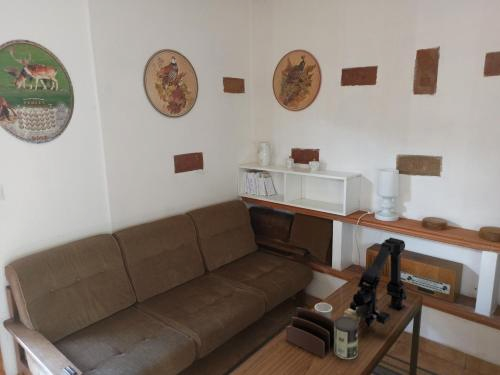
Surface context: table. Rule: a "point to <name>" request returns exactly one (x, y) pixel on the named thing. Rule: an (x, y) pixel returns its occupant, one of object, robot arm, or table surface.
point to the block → (352, 315)
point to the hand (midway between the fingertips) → (368, 327)
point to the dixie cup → (323, 309)
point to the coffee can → (346, 337)
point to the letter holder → (311, 332)
